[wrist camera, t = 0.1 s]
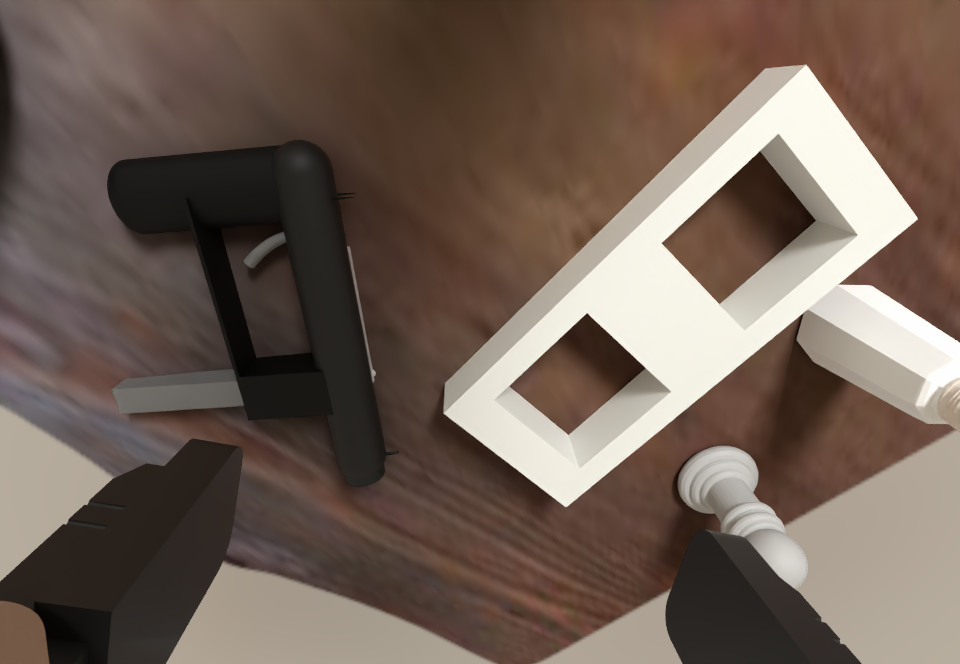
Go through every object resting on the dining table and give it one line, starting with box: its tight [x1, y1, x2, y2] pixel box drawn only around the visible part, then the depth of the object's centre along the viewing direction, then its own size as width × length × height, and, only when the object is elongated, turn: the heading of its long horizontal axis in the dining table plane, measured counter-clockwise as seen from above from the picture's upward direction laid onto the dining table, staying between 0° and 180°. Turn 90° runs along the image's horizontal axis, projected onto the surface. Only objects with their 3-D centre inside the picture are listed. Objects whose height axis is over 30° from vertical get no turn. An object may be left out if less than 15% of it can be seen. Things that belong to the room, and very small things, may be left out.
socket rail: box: [444, 65, 918, 507], centre depth 30 cm, size 24×10×4 cm, turn 137°
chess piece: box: [678, 446, 808, 589], centre depth 33 cm, size 5×5×9 cm
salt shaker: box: [796, 285, 960, 432], centre depth 28 cm, size 5×5×11 cm
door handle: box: [107, 140, 399, 487], centre depth 31 cm, size 3×20×16 cm
